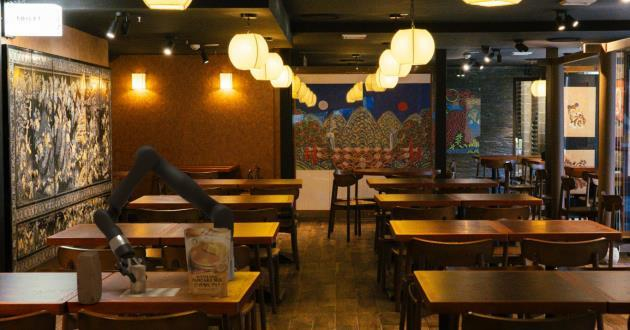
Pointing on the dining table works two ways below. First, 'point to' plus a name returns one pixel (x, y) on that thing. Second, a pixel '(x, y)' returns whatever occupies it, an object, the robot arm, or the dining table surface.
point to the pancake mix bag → (208, 260)
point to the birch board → (152, 292)
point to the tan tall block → (138, 279)
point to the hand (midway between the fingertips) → (140, 280)
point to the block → (89, 278)
